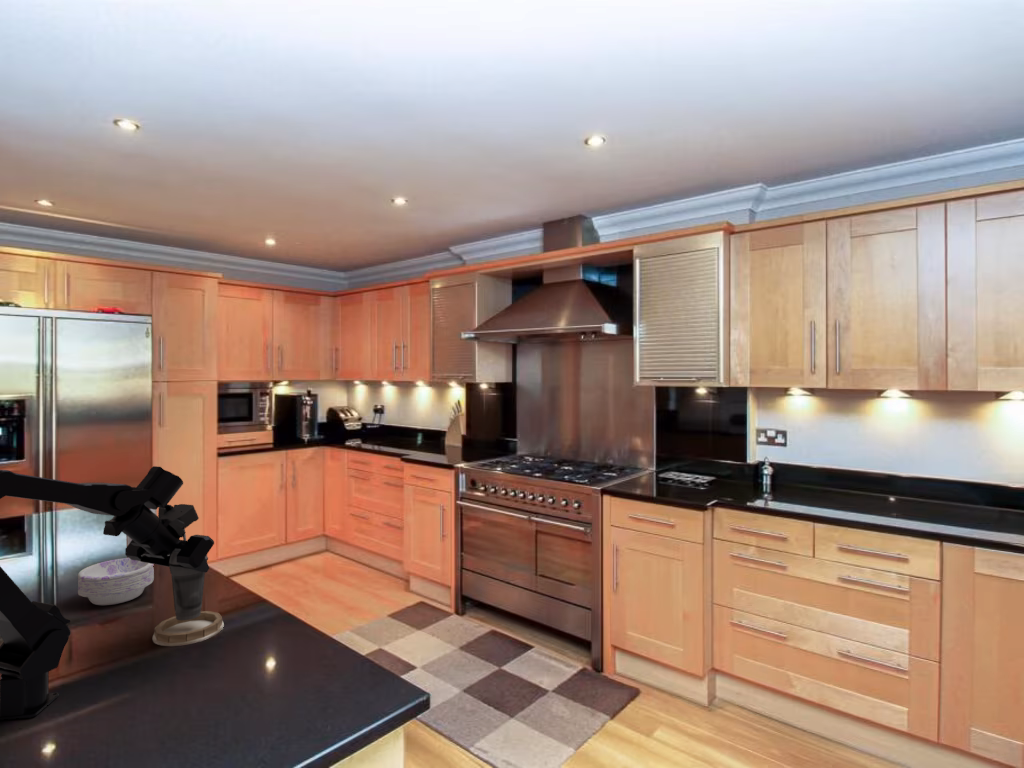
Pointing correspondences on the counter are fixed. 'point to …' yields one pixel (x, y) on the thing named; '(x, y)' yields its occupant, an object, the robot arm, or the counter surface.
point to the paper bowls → (114, 581)
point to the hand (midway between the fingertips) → (194, 568)
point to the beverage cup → (186, 589)
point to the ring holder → (188, 629)
